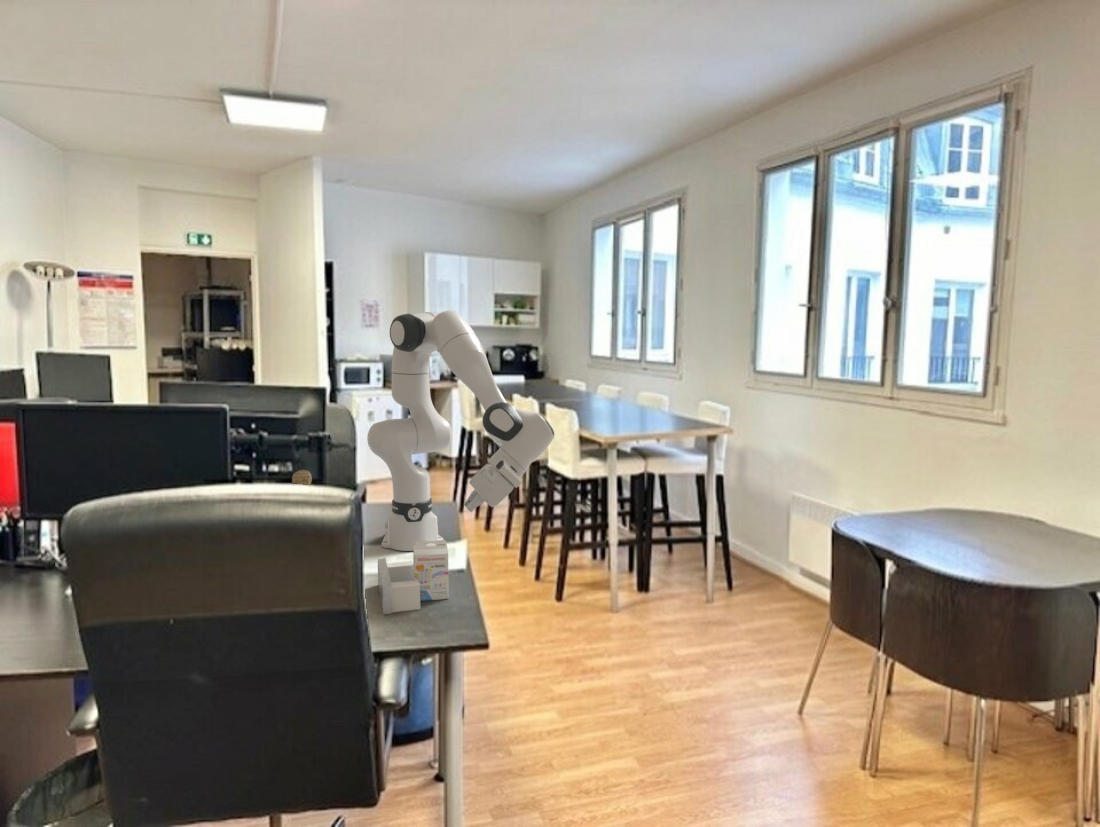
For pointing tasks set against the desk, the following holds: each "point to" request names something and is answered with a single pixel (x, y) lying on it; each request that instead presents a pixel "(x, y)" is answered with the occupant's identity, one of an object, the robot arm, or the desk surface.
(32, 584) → the desk surface
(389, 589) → the rail
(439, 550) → the ink box
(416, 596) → the box
